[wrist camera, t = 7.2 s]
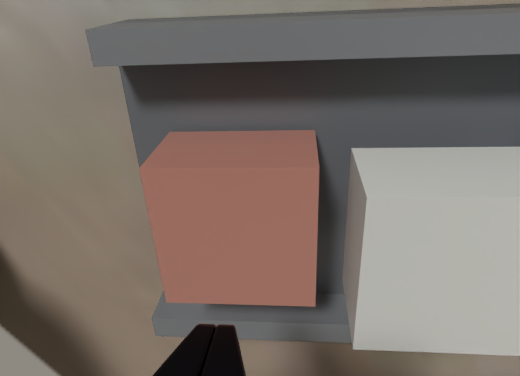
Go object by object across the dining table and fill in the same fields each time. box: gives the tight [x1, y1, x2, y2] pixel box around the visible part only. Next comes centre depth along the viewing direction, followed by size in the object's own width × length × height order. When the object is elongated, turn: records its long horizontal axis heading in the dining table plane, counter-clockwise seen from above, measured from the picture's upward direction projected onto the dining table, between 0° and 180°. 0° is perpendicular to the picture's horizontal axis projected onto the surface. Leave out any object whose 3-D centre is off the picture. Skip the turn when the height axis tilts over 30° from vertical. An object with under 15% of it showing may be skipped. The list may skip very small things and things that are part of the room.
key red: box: [139, 130, 319, 307], centre depth 13 cm, size 5×5×3 cm
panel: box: [85, 4, 520, 343], centre depth 14 cm, size 20×12×3 cm, turn 92°
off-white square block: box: [342, 147, 520, 356], centre depth 11 cm, size 5×5×3 cm
